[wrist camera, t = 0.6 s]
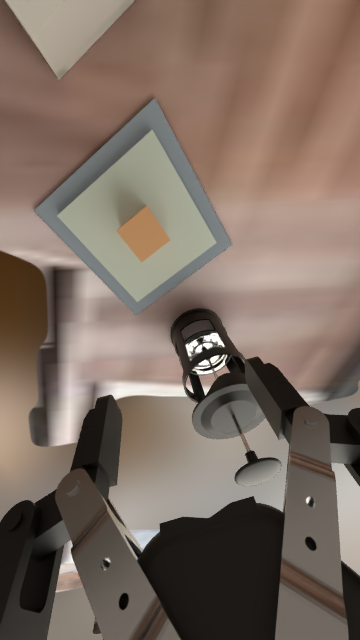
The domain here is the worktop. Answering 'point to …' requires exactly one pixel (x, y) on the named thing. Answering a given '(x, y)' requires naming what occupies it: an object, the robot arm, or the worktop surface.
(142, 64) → the worktop surface
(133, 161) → the lid
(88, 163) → the mat
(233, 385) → the french press
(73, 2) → the dish
